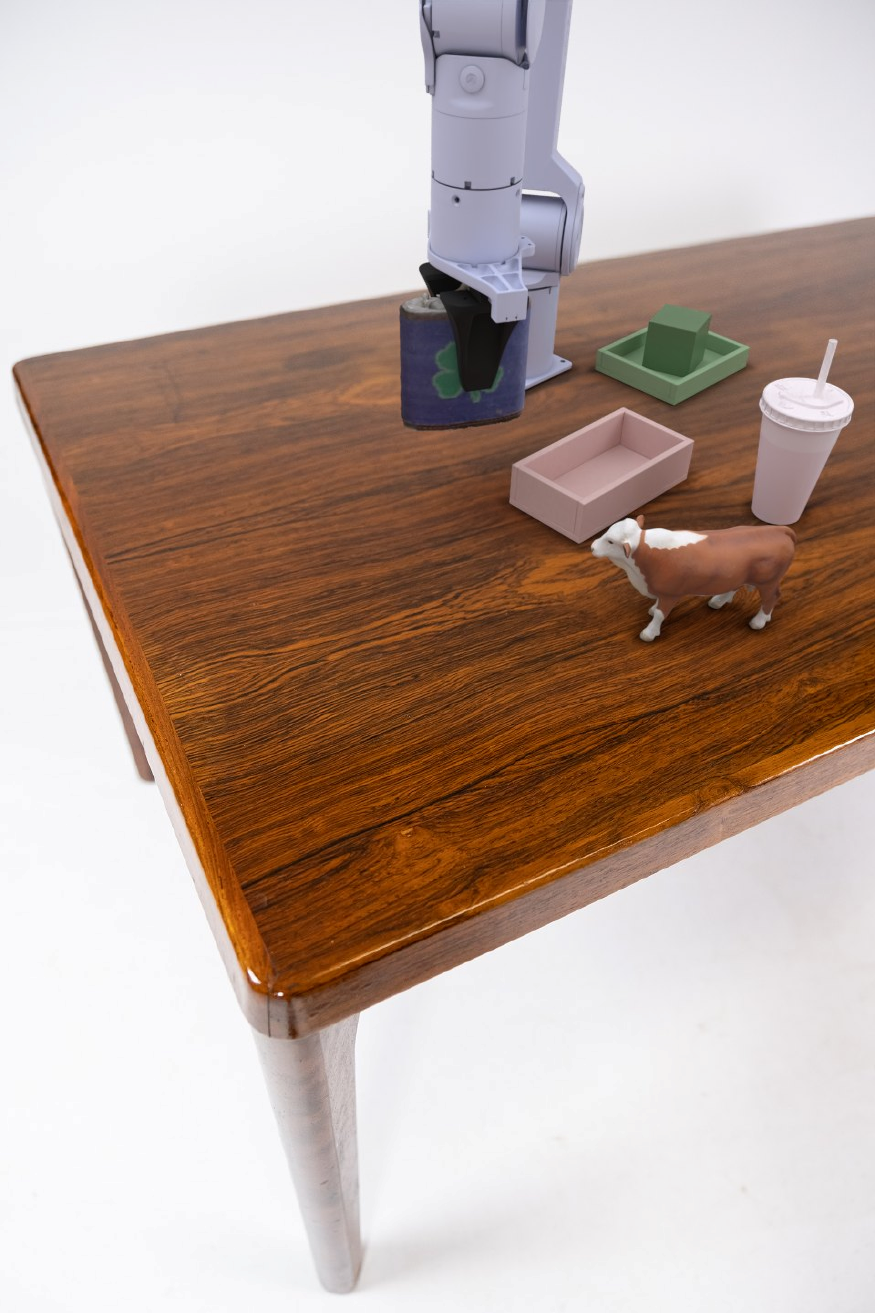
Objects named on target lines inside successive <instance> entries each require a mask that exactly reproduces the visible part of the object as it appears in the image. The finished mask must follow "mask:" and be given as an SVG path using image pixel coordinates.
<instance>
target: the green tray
mask: <svg viewBox="0 0 875 1313" xmlns="http://www.w3.org/2000/svg"><path fill="white" fill-rule="evenodd" d="M647 330H648V326H646V327H644V328H641V329H639V330H637V331H636V332H632V333H631V334H628V335H626V336H624V337H622V338H620V339H618V340H616V341H613V342H612V343H609V344H607V345H605V346H603V347H601V348H599V349H597V350H596V358H595V366H594V367H595V368H594V370H595V371H597V372H599V373H602V374H603V375H606V376H608V377H610V378H613V379H615V380H616V381H619V382H621V383H623V384H626V385H628V386H629V387H632V388H634V389H636V390H639V391H641V392H643V393H645V394H647V395H649V396H652V397H653V398H656V399H659V400H660V401H663V402H665V403H667V404H669V405H671V406H676V405H678V404H679V403H682V402H683V401H685V400H687V399H689V398H691V397H692V396H695V395H696V394H698V393H700V392H702V391H704V390H706V389H707V388H710V387H711V386H713V385H714V384H716V383H718V382H720V381H723V380H724V379H726V378H728V377H730V376H731V375H733V374H735V373H737V372H738V371H740V370H743V369H744V368H746V366H747V364H748V358H749V354H750V350H751V347H750V346H748V345H745V344H743V343H741V342H738V341H735V340H733V339H730V338H729V337H726V336H723V335H721V334H718V333H716V332H714V331H711V330H709V332H708V336H707V341H706V346H705V351H704V356H703V360H702V361H701V362H700V363H699V365H698V366H697V367H696V368H695V370H694V371H693V372H692V373H691V374H689V375H687V376H685V377H679V376H675V375H672V374H668V373H664V372H660V371H656V370H652V369H648V368H645V367H643V366H642V361H643V355H644V349H645V342H646V336H647Z"/></svg>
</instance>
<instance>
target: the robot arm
mask: <svg viewBox="0 0 875 1313" xmlns="http://www.w3.org/2000/svg"><path fill="white" fill-rule="evenodd" d="M573 3H574V0H418V14H419V15H418V16H419V32H420V41H421V47H422V52H423V61H424V86H425V93H426V94H429V95H430V96H431V115H430V116H431V118H430V120H431V127H430V129H431V130H430V131H431V132H430V136H431V137H430V142H431V143H430V155H431V156H430V209H428V210H427V250H426V251H427V256H426V257H427V262H423V263H421V264H420V265H419V267H418V272H419V273H420V274H419V275H420V276H421V278H422V280H423V282H424V284H425V286H426V288H427V290H428V294H429V297H437V296H436V295H440V300H441V302H442V303H443V305H444V308H445V310H446V312H447V314H448V317H449V320H450V323H451V326H452V330H453V334H454V339H455V344H456V353H457V364H458V373H459V378H460V382H461V385H462V388H463V390H464V391H465V392H470V391H477V390H485V389H491V388H492V386H493V384H494V381H495V378H496V375H497V372H498V369H499V365H500V362H501V359H502V356H503V353H504V350H505V347H506V345H507V342H508V340H509V338H510V336H511V334H512V332H513V330H514V328H515V327H516V325H517V324H518V322H519V321H520V320H525V319H526V311H527V310H528V307H529V296H530V297H531V301H532V302H531V314H530V325H529V342H528V355H527V368H526V383H525V391H526V390H528V389H530V388H532V387H534V386H536V385H539V384H540V383H542V382H545V381H547V380H550V379H552V378H553V377H555V376H557V375H560V374H562V373H564V372H566V371H568V370H570V369H572V367H573V363H572V362H571V361H570V360H568V359H566V358H563V357H561V356H559V355H557V354H555V353H554V350H555V340H556V330H557V321H558V320H557V319H558V311H559V310H558V309H559V308H558V307H559V298H560V289H561V280H562V278H563V277H569V276H570V275H571V273H574V271H575V270H576V269H577V265H578V261H579V256H580V250H581V244H582V243H581V242H582V238H583V236H582V235H583V226H584V216H585V204H584V202H585V195H586V194H585V193H586V185H585V184H584V179H583V177H582V175H581V174H580V173H579V171H577V169H575V168H574V167H573V165H572V164H571V163H570V162H569V161H568V160H566V159H565V157H563V155H562V153H560V152H559V150H558V140H559V131H560V124H561V123H560V122H561V115H562V114H561V113H562V105H563V104H562V103H563V96H564V94H563V93H564V86H565V79H566V78H565V77H566V68H567V60H568V48H569V40H570V32H571V23H572V13H573ZM523 190H525V191H527V190H528V191H538V192H539V191H540V192H550V193H553V194H557V195H558V196H555V195H554V196H553V195H542V194H541V195H540V194H532V193H523ZM462 283H464V284H466V285H468V286H470V288H469V290H468V289H465V290H457V289H458V288H460V286H461V285H462ZM455 290H456V291H455ZM437 298H439V297H437Z"/></svg>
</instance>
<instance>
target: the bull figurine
mask: <svg viewBox="0 0 875 1313" xmlns="http://www.w3.org/2000/svg"><path fill="white" fill-rule="evenodd" d="M644 523H645V516H644V515H643V514H639V515H637V517H636V518H635V519H632V518H630V517H629V518H628V517H627V518H625V519H623V520H620V521H617V522H615V523H613V524H611V525H610V526H609V529H608V530H607V531H606V532H605V533H604V534H603V535H602V536H601V537H599V538H597V539H595V540H594V541H593V542H592V543H591V545H590V549H591V553H592V555H593V557H595V558H599V559H603V558H607V559H609V560H610V561H611V562H612V563H613V564H614V565H615V567H617V568H620V569H622V570H624V571H625V573H626V575H627V578H628V581H629V583H630V584H631V585H632V586H633V587H634V589H636V590H637V591H638V592H639V593H640V595H641V596H644V597H647V598H648V599H651V600H656V602H655V604H654V605H653V606H651V607H650V608H649V610H648V615H649V616H651V617H652V620H651V621H650V622H649V623H648V625H647V627H645V628H644V629H643V630H641V632H640V633H639V638H640V639H641V640H642V641H644V642H653V641H654V639H655V638H656V637H659V636H660V635H661V625H662V622H664V620H666V619H667V618H668V616H669V614H670V613H671V611H672V610H673V608H674V607H676V605H677V604H678V603H679V602H680V601H681V600H682V599H683V598H684V597H685V596H697V597H712V598H711V599H709V601H708V602H707V604H708V606H709V607H710V608H712V609H716V610H718V609H721V608H722V606H723V605H725V604H726V603H728V604H731V603H732V601H733V598H734V596H735V594H736V593H737V592H738V591H739V590H740V589H741V588H742V587H744V586H746V588H745V589H746V591H747V592H752V591H754V590H756V589H757V591H758V593H759V597H760V598H761V606H760V609H759V611H758V612H757V613H756V615H755V616H753V618H752V619H751V620H750V621H749V622H748V625H749V626H750V628H751V629H753V630H761V629H763V628H764V627H765V626H766V622H770V621H771V617H772V616H771V615H772V612H773V610H774V608H775V606H776V604H777V602H779V600H780V599H781V598H782V595H783V592H782V590H781V588H780V581H781V580H782V578H783V577H784V576H785V574H786V573H787V572H788V571H789V569H790V567H791V566H792V564H793V561H794V558H795V553H796V549H795V546H796V543H797V533H795V531H794V530H793V529H792V528H790V527H789V526H787V525H774V524H771V525H770V524H767V525H737V526H733V527H730V528H723V529H707V530H706V529H704V530H690V529H675V530H670V529H666V528H662V527H658V528H657V527H656V528H650V529H643V528H644Z"/></svg>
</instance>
